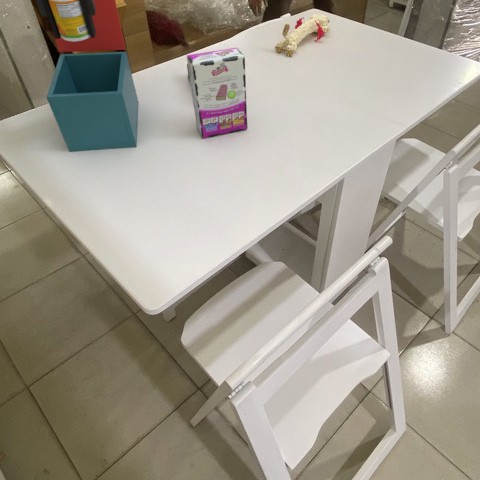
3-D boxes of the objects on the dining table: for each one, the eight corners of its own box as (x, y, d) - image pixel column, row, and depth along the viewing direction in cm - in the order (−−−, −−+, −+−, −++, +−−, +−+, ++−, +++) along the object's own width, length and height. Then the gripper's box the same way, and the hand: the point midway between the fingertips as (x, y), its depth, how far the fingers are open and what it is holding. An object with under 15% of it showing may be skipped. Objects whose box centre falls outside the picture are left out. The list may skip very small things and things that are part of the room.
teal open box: (136, 146, 88) (122, 93, 78) (69, 151, 86) (46, 97, 76) (138, 102, 99) (126, 51, 90) (79, 106, 97) (60, 54, 88)
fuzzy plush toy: (297, 63, 119) (337, 29, 131) (298, 31, 112) (340, -1, 123) (269, 54, 122) (311, 22, 134) (268, 23, 115) (313, -8, 127)
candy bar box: (240, 119, 96) (237, 46, 84) (247, 129, 94) (246, 56, 81) (195, 128, 93) (185, 53, 80) (201, 139, 90) (192, 64, 78)
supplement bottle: (62, 30, 76) (41, -32, 68) (92, 29, 76) (74, -33, 69) (59, 42, 72) (36, -22, 65) (91, 41, 73) (72, -23, 66)
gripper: (-64, -146, 52) (18, 45, 71) (84, -140, 55) (126, 42, 73) (-46, -153, 57) (26, 28, 75) (89, -147, 60) (128, 26, 78)
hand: (75, 34), depth 74 cm, fingers closed on supplement bottle, 5 cm apart
